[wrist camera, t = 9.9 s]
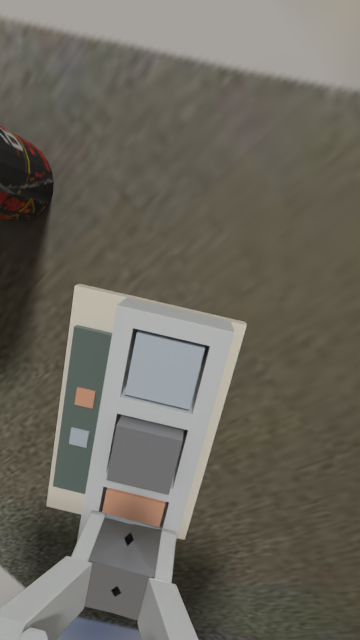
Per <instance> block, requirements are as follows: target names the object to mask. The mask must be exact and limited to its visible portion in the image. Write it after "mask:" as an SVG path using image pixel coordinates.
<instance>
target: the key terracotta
mask: <svg viewBox="0 0 360 640" xmlns="http://www.w3.org/2000/svg"><path fill="white" fill-rule="evenodd" d="M164 506H165V501H161V500H157V499H153V498H149V497H144V496H140V495H136V494H132V493H128V492H124V491H120V490H115V489H111V488H107V490H106V495H105V501H104V506H103V511H102V512H103V513H106V514H110V515H114V516H117V517H121V518H124V519H127V520H131V521H137V522H141V523H145V524H149V525H154V526H158V527H159V526H160V522H161V518H162V514H163V510H164Z"/></svg>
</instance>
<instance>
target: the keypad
mask: <svg viewBox="0 0 360 640" xmlns="http://www.w3.org/2000/svg"><path fill="white" fill-rule="evenodd" d="M246 326H247V325H246V323H245V322H243V321H239V320H235V319H230V318H226V317H222V316H217V315H213V314H209V313H204V312H200V311H196V310H191V309H187V308H183V307H178V306H174V305H170V304H166V303H161V302H157V301H153V300H148V299H144V298H140V297H135V296H131V295H127V294H122V293H118V292H114V291H109V290H105V289H101V288H96V287H92V286H88V285H83V284H77V285H75V288H74V296H73V304H72V311H71V319H70V327H69V335H68V342H67V350H66V358H65V366H64V373H63V381H62V389H61V396H60V404H59V412H58V420H57V427H56V435H55V443H54V451H53V458H52V466H51V474H50V482H49V489H48V497H47V505H46V506H48V507H52V508H56V509H60V510H64V511H68V512H72V513H76V514H80V515H81V521H80V527H79V533H78V539H79V537H80V535H81V532H82V530H83V528H84V525H85V523H86V521H87V518H88V516H89V514H90V512H91V511H92V510H95V511H99V512H102V511H103V506H104V501H105V495H106V490H107V488H111V489H115V490H120V491H124V492H128V493H132V494H136V495H140V496H144V497H149V498H153V499H157V500H161V501H165V506H164V510H163V514H162V518H161V522H160V526H159V527H161V529H162V528H164V529H168V530H172V531H176V534H177V535H176V540H177V538H179V539H183V540H185V537H186V534H187V530H188V527H189V523H190V520H191V516H192V513H193V509H194V506H195V503H196V499H197V496H198V492H199V489H200V485H201V482H202V478H203V475H204V471H205V468H206V464H207V461H208V458H209V454H210V451H211V447H212V444H213V440H214V437H215V433H216V430H217V426H218V423H219V420H220V416H221V413H222V409H223V406H224V402H225V399H226V395H227V392H228V388H229V385H230V382H231V378H232V375H233V371H234V368H235V364H236V361H237V357H238V354H239V350H240V347H241V343H242V340H243V337H244V333H245V330H246ZM138 330H143V331H147V332H151V333H156V334H160V335H164V336H169V337H173V338H177V339H181V340H186V341H190V342H194V343H199V344H203V345H205V350H204V354H203V358H202V362H201V366H200V370H199V374H198V378H197V382H196V385H195V389H194V393H193V397H192V401H191V405H190V409H184V408H180V407H176V406H172V405H167V404H163V403H159V402H155V401H151V400H146V399H142V398H138V397H134V396H129V395H125V391H126V386H127V380H128V375H129V370H130V365H131V359H132V354H133V349H134V344H135V339H136V333H137V332H138ZM121 415H125V416H130V417H134V418H138V419H142V420H146V421H151V422H155V423H159V424H163V425H167V426H172V427H176V428H180V429H184V432H183V441H182V445H181V449H180V453H179V457H178V461H177V465H176V469H175V472H174V476H173V480H172V484H171V488H170V492H169V495H166V494H162V493H158V492H154V491H150V490H146V489H141V488H137V487H133V486H129V485H125V484H121V483H117V482H112V481H108V480H106V479H107V474H108V468H109V463H110V458H111V452H112V447H113V442H114V437H115V431H116V426H117V423H118V421H119V419H120V417H121ZM78 539H77V542H78Z"/></svg>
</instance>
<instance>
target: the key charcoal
mask: <svg viewBox="0 0 360 640" xmlns="http://www.w3.org/2000/svg"><path fill="white" fill-rule="evenodd" d="M183 432H184V429H180V428H176V427H172V426H167V425H163V424H159V423H155V422H151V421H146V420H142V419H138V418H134V417H130V416H125V415H121V417H120V419H119V421H118V423H117V426H116V431H115V437H114V442H113V447H112V452H111V458H110V463H109V468H108V474H107V479H106V480H108V481H112V482H117V483H121V484H125V485H129V486H133V487H137V488H141V489H146V490H150V491H154V492H158V493H162V494H166V495H169V492H170V488H171V484H172V480H173V476H174V472H175V469H176V465H177V461H178V457H179V453H180V449H181V445H182V441H183Z"/></svg>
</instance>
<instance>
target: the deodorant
mask: <svg viewBox="0 0 360 640" xmlns="http://www.w3.org/2000/svg"><path fill="white" fill-rule="evenodd" d="M52 194H53V177H52V171H51V169H50V166H49V164H48V161H47V160H46V158H45V157H44V155H43V154H42V153H41V152H40V151H39V150H38V149H37V148H36V147H35V146H34V145H32V144H31V143H29V142H27V141H26V140H24V139H22V138H20V137H19V136H17V135H15V134H14V133H12V132H10V131H8V130H7V129H5V128H3V127H2V126H0V219H7V220H15V221H24V220H30V219H32V218H35V217H37V216H38V215H39V214H41V213H42V212H43V211H44V210H45V208H46V207H47V206H48V204H49V202H50V199H51V197H52Z"/></svg>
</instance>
